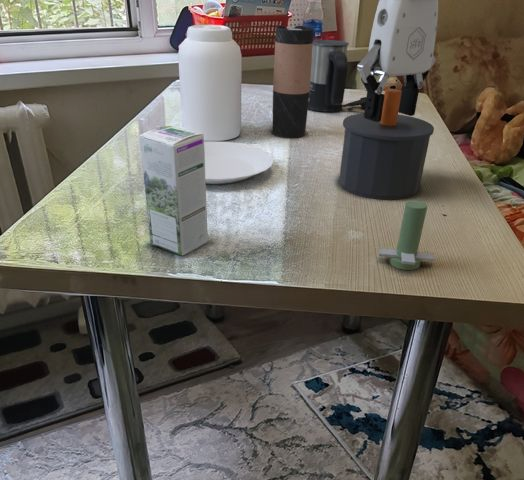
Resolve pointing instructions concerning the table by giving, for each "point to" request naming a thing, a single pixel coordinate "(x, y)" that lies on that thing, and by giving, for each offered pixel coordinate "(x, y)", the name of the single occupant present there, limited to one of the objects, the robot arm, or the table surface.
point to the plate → (233, 162)
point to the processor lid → (389, 122)
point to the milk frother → (329, 76)
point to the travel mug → (291, 80)
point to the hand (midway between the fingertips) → (389, 116)
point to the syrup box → (175, 188)
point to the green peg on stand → (409, 239)
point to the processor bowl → (382, 166)
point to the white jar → (210, 82)
